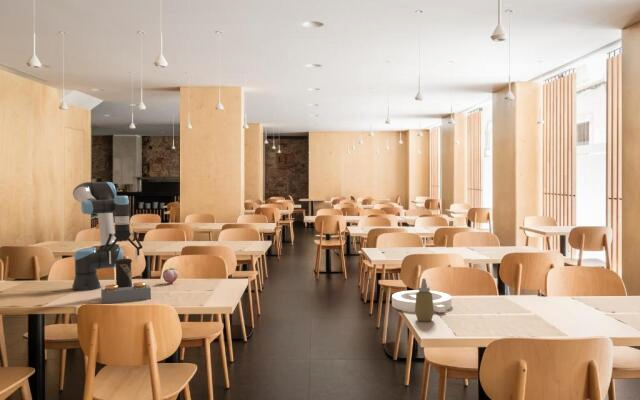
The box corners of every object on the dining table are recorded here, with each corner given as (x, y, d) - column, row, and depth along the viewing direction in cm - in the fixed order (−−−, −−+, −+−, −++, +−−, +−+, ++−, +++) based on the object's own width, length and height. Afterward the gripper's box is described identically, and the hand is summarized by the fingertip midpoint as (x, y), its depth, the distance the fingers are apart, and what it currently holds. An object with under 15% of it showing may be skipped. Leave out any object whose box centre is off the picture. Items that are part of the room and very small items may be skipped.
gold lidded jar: (134, 298, 282) (133, 285, 282) (133, 296, 288) (132, 282, 288) (147, 297, 285) (146, 283, 285) (145, 295, 291) (145, 281, 291)
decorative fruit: (172, 281, 334) (171, 265, 334) (180, 282, 329) (180, 266, 329) (159, 284, 327) (159, 267, 326) (168, 285, 322) (167, 268, 321)
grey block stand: (101, 303, 275) (101, 292, 275) (101, 300, 283) (101, 289, 283) (150, 299, 285) (150, 287, 285) (149, 296, 292) (148, 285, 292)
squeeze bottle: (419, 317, 238) (419, 276, 237) (437, 319, 233) (436, 278, 232) (411, 321, 231) (411, 279, 230) (429, 323, 226) (429, 281, 226)
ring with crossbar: (444, 315, 241) (444, 304, 241) (384, 310, 253) (384, 300, 253) (456, 302, 266) (456, 292, 266) (401, 297, 278) (401, 288, 278)
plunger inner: (105, 301, 277) (105, 287, 277) (105, 299, 283) (104, 285, 282) (118, 300, 279) (118, 286, 279) (118, 297, 285) (117, 284, 285)
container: (127, 296, 292) (126, 259, 291) (112, 296, 294) (111, 259, 293) (136, 293, 300) (134, 257, 299) (121, 293, 302) (120, 257, 301)
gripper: (97, 225, 287) (99, 265, 288) (146, 223, 297) (148, 261, 297) (97, 224, 294) (98, 263, 294) (145, 222, 304) (146, 260, 304)
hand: (123, 262), depth 296 cm, fingers open, 13 cm apart
